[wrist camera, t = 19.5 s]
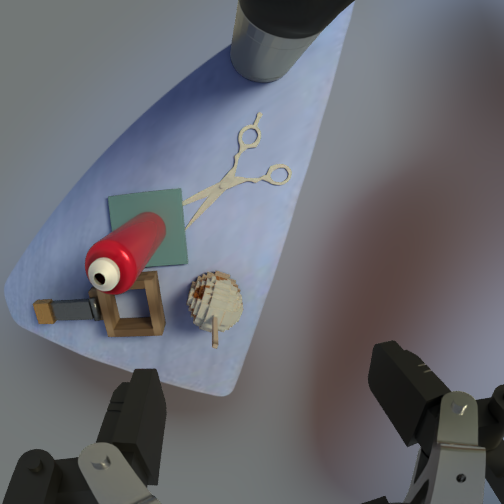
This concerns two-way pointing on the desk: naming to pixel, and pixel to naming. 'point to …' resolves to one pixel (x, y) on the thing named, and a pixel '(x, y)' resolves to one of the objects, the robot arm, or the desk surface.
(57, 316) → the lever
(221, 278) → the caramel apple
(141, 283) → the holder
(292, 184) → the desk surface
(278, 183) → the scissors
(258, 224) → the desk surface
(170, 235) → the coaster
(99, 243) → the bottle
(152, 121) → the desk surface
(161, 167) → the desk surface
